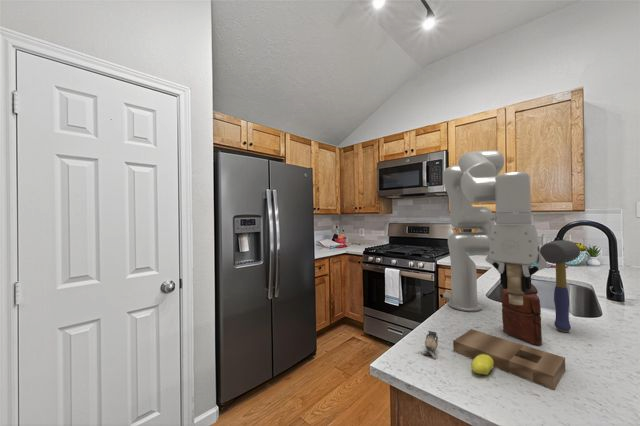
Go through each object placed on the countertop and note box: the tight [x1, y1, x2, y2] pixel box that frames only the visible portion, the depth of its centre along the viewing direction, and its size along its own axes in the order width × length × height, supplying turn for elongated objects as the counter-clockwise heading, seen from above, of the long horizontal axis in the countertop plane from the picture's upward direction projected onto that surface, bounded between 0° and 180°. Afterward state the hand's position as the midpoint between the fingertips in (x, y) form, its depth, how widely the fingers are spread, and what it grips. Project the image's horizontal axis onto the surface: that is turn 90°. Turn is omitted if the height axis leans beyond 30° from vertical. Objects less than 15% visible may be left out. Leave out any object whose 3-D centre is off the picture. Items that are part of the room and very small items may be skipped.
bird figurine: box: [417, 330, 441, 360], centre depth 75 cm, size 5×5×6 cm
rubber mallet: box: [540, 239, 581, 333], centre depth 87 cm, size 12×8×30 cm, turn 119°
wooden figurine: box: [501, 283, 543, 346], centre depth 83 cm, size 12×6×18 cm, turn 23°
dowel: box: [506, 263, 524, 305], centre depth 68 cm, size 4×4×11 cm
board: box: [452, 328, 566, 391], centre depth 71 cm, size 22×12×3 cm, turn 38°
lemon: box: [471, 354, 494, 376], centre depth 66 cm, size 4×8×4 cm, turn 123°
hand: (515, 289), depth 68 cm, fingers closed on dowel, 3 cm apart
